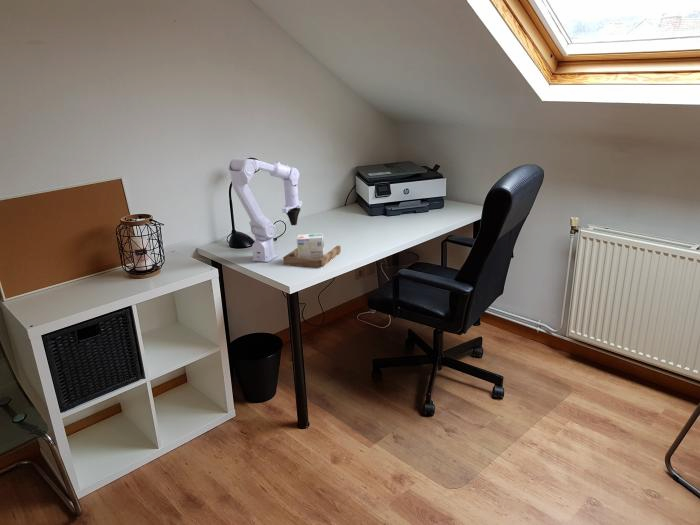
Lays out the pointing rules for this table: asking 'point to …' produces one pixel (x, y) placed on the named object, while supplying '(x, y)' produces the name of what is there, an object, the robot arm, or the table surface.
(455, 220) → the table surface
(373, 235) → the table surface
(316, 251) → the light bulb box
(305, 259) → the walnut holder
